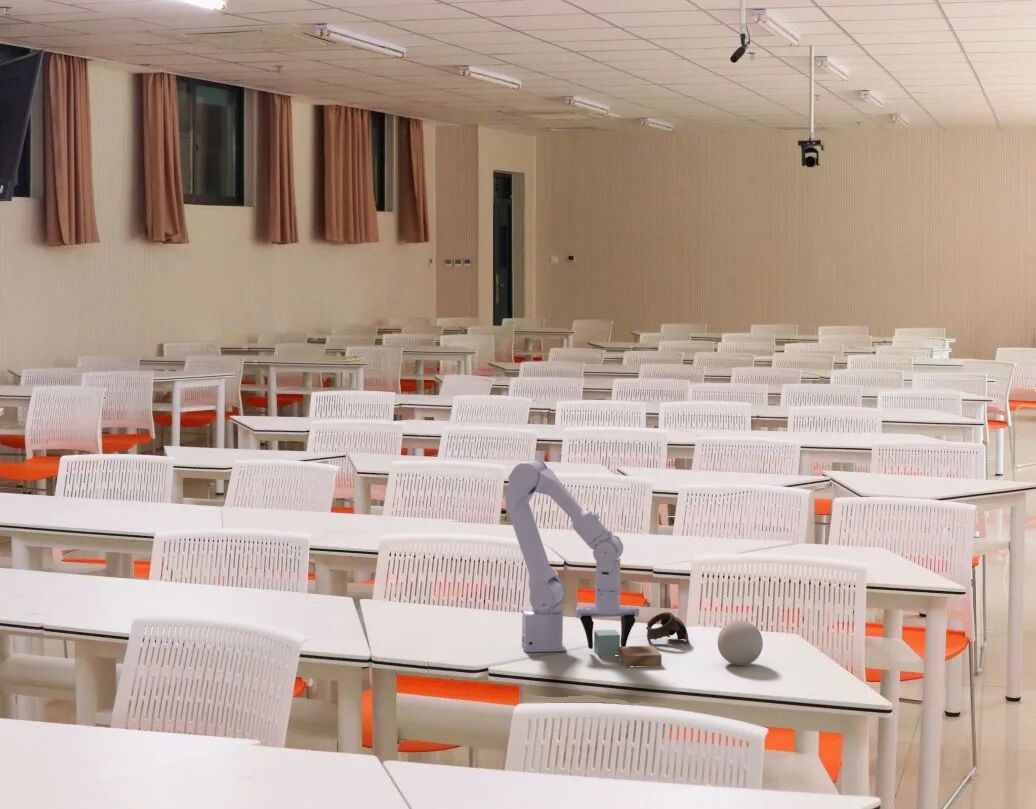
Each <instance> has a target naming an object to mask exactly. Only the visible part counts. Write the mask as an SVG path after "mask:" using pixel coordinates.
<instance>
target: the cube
mask: <svg viewBox="0 0 1036 809" xmlns="http://www.w3.org/2000/svg"><path fill="white" fill-rule="evenodd" d="M593 633H594V634H593V638H594V639H593V652H594V653H595V654H597V655H598V656H610V657H616V656H615V655H619V647H621V634H620V633H619V632H618V631H617V630H616V629H595V630H594V629H593ZM597 655H596V656H597ZM598 656H597V657H598Z"/></svg>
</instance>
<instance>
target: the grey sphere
mask: <svg viewBox="0 0 1036 809" xmlns="http://www.w3.org/2000/svg"><path fill="white" fill-rule="evenodd" d="M763 646H764V642H763V637H762V634H761V632H760V630H759V629H758V628H757V627H756V625H754V624H753V623H751V622H749V621H746V620H742V619H740V620H739V619H737V620H733V621H732V620H731V621H730V622H728V623H727V624H725V625H724V626H723V627H722V628H721V630H720V631H719V633H718V636H717V649H718V651H719V654H720V655H721V657H722V658H723V659H724V660H725V661H727V662H728V663H730V664H733V666H734V665H736V666H746V665H750V664H752V663H753V662H754V661H756V660H757V659H759V656H760V655H761V653H762V651H763Z"/></svg>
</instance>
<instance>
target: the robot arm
mask: <svg viewBox="0 0 1036 809" xmlns="http://www.w3.org/2000/svg"><path fill="white" fill-rule="evenodd" d="M507 478H508V485H507V489H506V494H505V498H504V499H505V500H504V502H505V506H506V509H507V511H508V515H509V517H510V518H509V519H510V521H511V523H512V527H513V531H514V533H515V536H516V540H517V542H518V545H519V548H520V550H521V553H522V556H523V559H524V562H525V565H526V568H527V571H528V583H527V584H528V588H529V602H530V606H531V609H530V610H524V611H523V612H522V617H521V618H522V619H521V621H522V623H521V646H522V648H523V649H524V651H525V652H526V653H545V652H547V653H549V652H550V653H551V652H566V651H567V648H566V646H565V645H564V643H563V635H564V634H563V632H564V630H563V628H564V627H563V626H564V612H563V611H564V607H563V606H562V602H563V601H564V600H565V597H566V594H567V592H566V588H565V585H564V584H563V582H562V581H561V580H560V579H559V578H558V576H557V572H556V571H555V570H554V569H553V568H552V567H551V565H550V562H549V559H548V556H547V553H546V550H545V548H544V544H543V542H542V537H541V535H540V532H539V528H538V526H537V523H536V520H535V517H534V514H533V512H532V511H533V510H532V507H531V505H530V501H531V499H532V498H533V495H534V494H535V493H537V494H543V495H547V496H549V497H550V499H552V500H553V501H554V503H556V504H557V506H559V508H561V510H562V511H564V513H565V514H566V515H567V516H569V518H570V519H571V522H572V529H573V530H574V531H575V532H576V534H577V535H579V537H580V538H581V539H582V540H583V541H584V543H585V544H586V545H587V547H589V548H590V549H591V550H593V551H592V554H593V556H592V557H593V558H594V560H595V561H596V562H595V564H596V568H595V586H594V588H595V590H594V591H595V593H594V595H595V596H594V597H595V598H594V605H593V606H585V607H583V606H581V607H575V617H576V619H580V622H581V625H582V627H583V630H584V633H585V637H586V640H587V647H588V648H589V649H590V650H594V639H593V638H594V634H593V633H594V620H593V618H595V617H596V618H597V617H598V618H599V617H601V618H602V617H603V618H604V617H620V628H621V632H620V647H627V641H628V639H629V637H630V636H629V635H630V633H631V631H632V628H633V627H634V625H635V623H636V618H638V617H640V608H639V607H638V606H629V605H627V606H626V605H621V573H622V572H621V556H622V555H623V553H624V544H623V542H622V541H621V539H620V537H619V536H617V535H614V533H613V531H611V530H608V529H607V527H606V526H605V525H604V524H602V522H601V521H600V520H599V519H600V516H599V515H598V513H593V511H591V510H584V509H583V508H582V507H581V505H579V503H578V502H577V500H576V499H575V498H574V496H572V494H571V493H570V491H569V490H568V489H567V488H566V487H565V485H563V483H562V481H561V480H560V479H559V478H558V477H557V475H556V474H555V472H554V471H553V470H552V469H550V467H548V466H547V464H546V463H545V462H544V461H543V460H541V459H539V458H531V459H529V460H527V461H525V462H522V463H519V464H517V465H516V466H514V468H513V469H512V471H511V472H510V474H509V475H508V477H507ZM635 617H636V618H635Z"/></svg>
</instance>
